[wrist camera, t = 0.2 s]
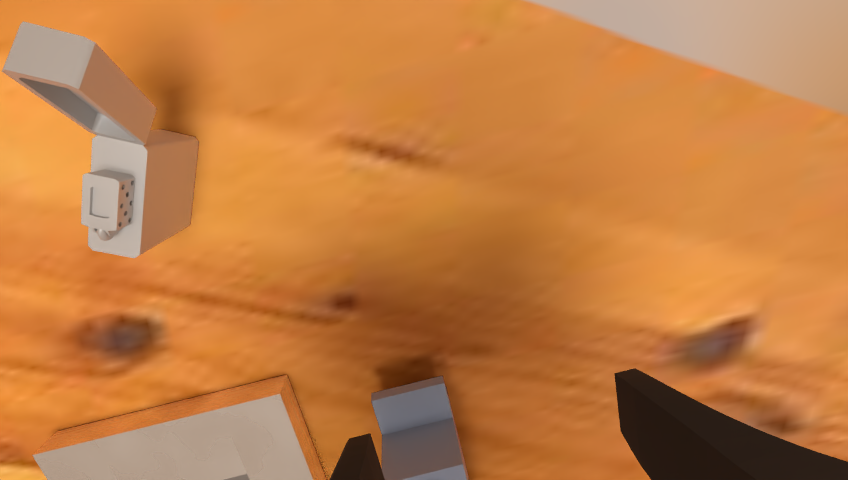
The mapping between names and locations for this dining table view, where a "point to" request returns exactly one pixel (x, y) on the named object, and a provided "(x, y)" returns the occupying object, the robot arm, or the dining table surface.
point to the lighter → (111, 141)
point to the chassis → (192, 440)
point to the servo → (419, 432)
